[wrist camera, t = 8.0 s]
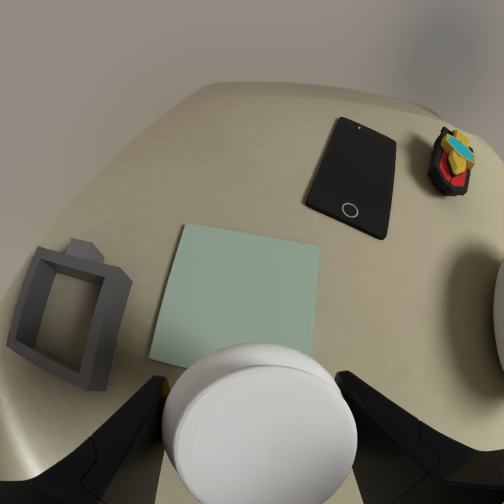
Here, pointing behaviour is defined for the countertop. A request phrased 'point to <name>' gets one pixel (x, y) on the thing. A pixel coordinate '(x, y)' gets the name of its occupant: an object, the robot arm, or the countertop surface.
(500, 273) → the serving bowl
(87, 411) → the countertop surface
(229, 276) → the mat
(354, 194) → the cell phone
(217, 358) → the supplement bottle
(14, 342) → the collar
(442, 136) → the gadget
